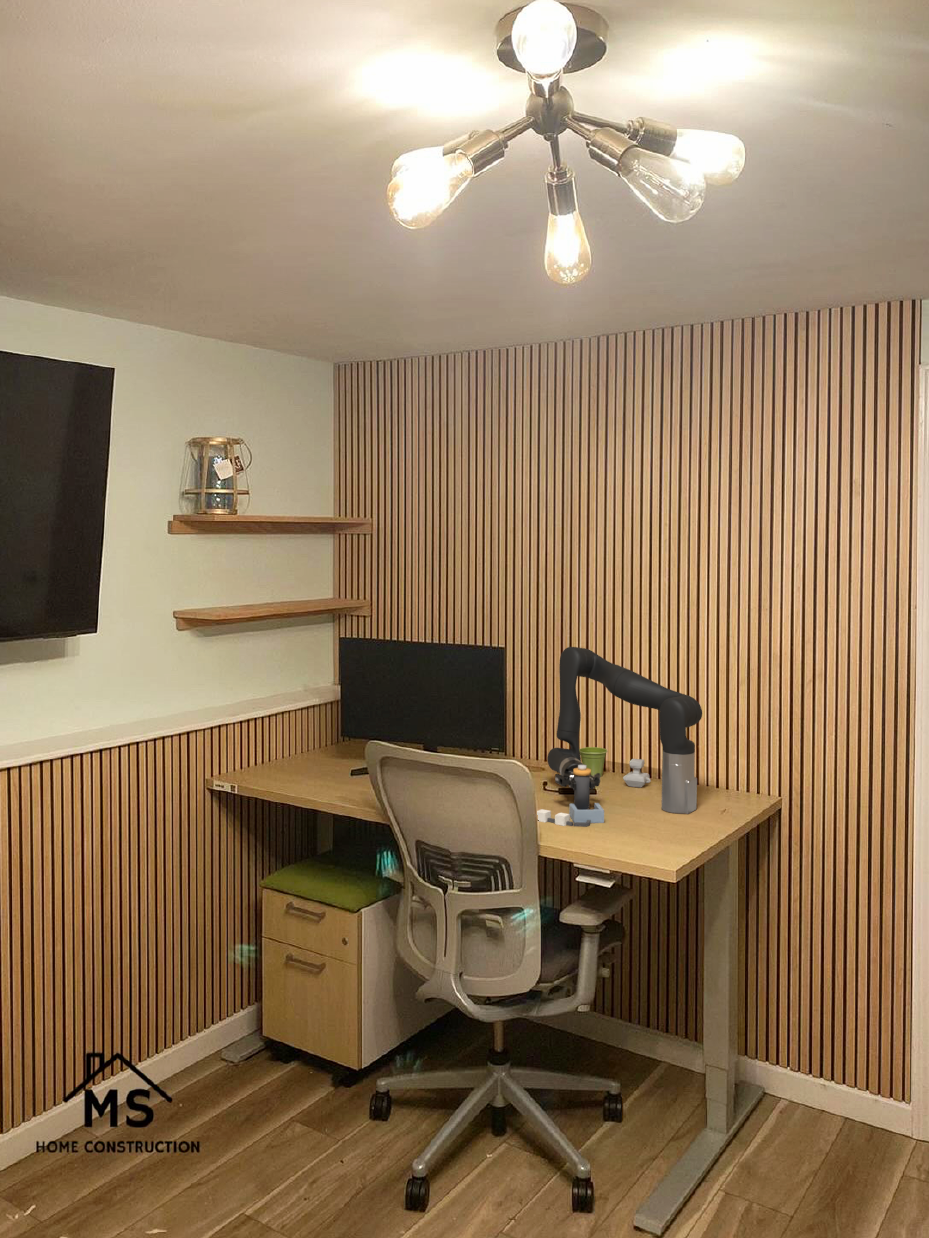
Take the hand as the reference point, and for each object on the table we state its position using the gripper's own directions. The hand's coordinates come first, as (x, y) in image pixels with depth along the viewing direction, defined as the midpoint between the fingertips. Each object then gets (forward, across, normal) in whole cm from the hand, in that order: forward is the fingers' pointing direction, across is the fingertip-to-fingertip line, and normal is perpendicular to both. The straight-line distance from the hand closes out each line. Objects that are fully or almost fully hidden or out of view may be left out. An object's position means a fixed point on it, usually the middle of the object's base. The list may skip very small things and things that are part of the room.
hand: (583, 786), depth 289 cm
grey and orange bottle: (-3, 0, +7) cm, 8 cm away
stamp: (-31, +23, +9) cm, 40 cm away
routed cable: (+7, -7, +8) cm, 13 cm away
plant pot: (-46, +12, +9) cm, 48 cm away
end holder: (+4, 0, +8) cm, 9 cm away
